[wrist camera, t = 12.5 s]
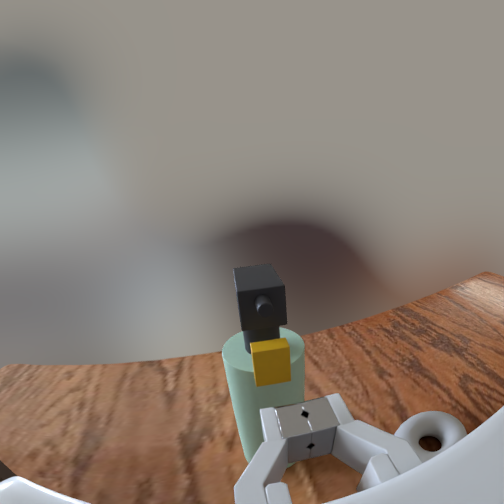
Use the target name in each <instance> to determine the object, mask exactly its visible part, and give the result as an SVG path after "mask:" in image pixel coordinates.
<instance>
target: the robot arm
mask: <svg viewBox="0 0 504 504" xmlns="http://www.w3.org/2000/svg"><path fill="white" fill-rule="evenodd" d="M260 416H261V424H262V431H263V438H264V442H262V444H261V445H260V447H259V449H258V450H257V452H256V453H255V455H254V457H253V458H252V460H251V462H250V463H249V465H248V466H247V468H246V469H245V471H244V472H243V474H242V476H241V477H240V479H239V480H238V482H237V483H236V484H235V486H234V496H235V504H292V501H291V497H290V494H289V490H288V486H287V484H285V483H283V482H280V481H281V479H282V477H283V474H284V472H285V470H286V468H287V465H288V463H293V462H297V461H302V460H306V459H309V458H314V457H318V456H323V455H327V454H331V453H332V455H333V456H335V457H336V458H338V459H339V460H341V461H342V462H344V463H345V464H347V465H348V466H350V467H351V468H353V469H354V470H356V471H358V472H359V473H361V474H362V475H363V476H362V478H361V480H360V482H359V484H358V486H357V488H356V489H357V492H358V493H355V494H352V495H349V496H346V497H343V498H340V499H337V500H334V501H330V502H327V503H323V504H504V406H503V407H502V408H501V409H499V410H498V411H497V412H496V413H495V414H494V415H493V416H491V417H490V418H489V419H488V420H486V421H485V422H484V423H483V424H481V425H480V426H479V427H478V428H476V429H475V430H474V431H472V432H471V433H470V434H468V435H467V436H465V437H464V438H463V439H461V440H460V441H458V442H457V443H455V444H454V445H452V446H451V447H449V448H448V449H446V450H445V451H443V452H441V453H440V454H438V455H436V456H435V457H433V458H431V459H430V460H428V461H426V462H424V463H423V462H422V461H421V459H420V458H419V456H418V455H417V453H416V452H415V450H414V449H413V448H412V446H411V445H410V443H409V442H408V441H407V440H405V439H402V438H399V437H397V436H395V435H392V434H390V433H387V432H385V431H383V430H380V429H378V428H376V427H373V426H371V425H369V424H367V423H364V422H362V421H360V420H356V421H355V420H354V418H353V417H352V415H351V413H350V412H349V410H348V408H347V406H346V405H345V403H344V401H343V399H342V398H341V396H340V394H338V393H336V394H332V395H329V396H325V397H320V398H316V399H312V400H308V401H304V402H300V403H295V404H289V405H283V406H277V407H274V408H273V407H271V408H264V409H260ZM0 504H91V503H87V502H84V501H81V500H77V499H74V498H71V497H68V496H65V495H63V494H60V493H57V492H55V491H52V490H49V489H47V488H44V487H42V486H40V485H37V484H35V483H33V482H31V481H29V480H27V479H25V478H22V477H19V476H14V477H11V478H8V479H6V480H4V481H2V482H0Z"/></svg>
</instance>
